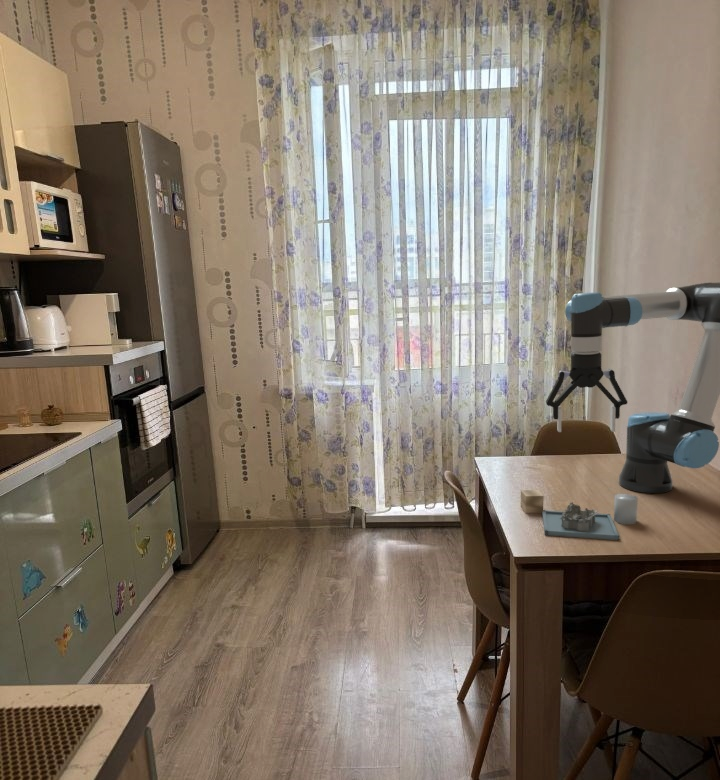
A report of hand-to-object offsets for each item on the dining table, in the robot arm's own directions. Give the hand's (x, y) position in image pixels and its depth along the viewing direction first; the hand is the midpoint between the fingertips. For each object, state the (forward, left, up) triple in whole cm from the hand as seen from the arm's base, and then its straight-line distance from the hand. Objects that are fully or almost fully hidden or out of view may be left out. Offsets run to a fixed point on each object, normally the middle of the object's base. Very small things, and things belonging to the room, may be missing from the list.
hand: (585, 430), depth 161 cm
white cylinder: (-11, +2, -24) cm, 26 cm away
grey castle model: (+2, +8, -24) cm, 25 cm away
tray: (+2, +8, -24) cm, 25 cm away
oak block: (+13, -2, -24) cm, 28 cm away
